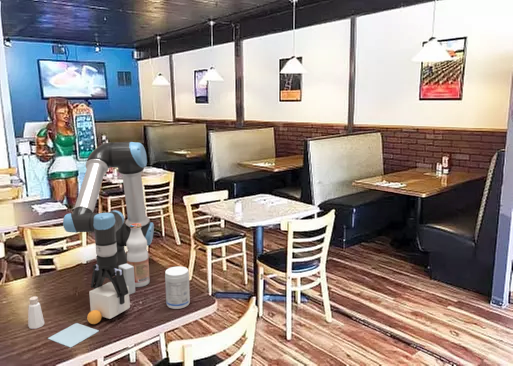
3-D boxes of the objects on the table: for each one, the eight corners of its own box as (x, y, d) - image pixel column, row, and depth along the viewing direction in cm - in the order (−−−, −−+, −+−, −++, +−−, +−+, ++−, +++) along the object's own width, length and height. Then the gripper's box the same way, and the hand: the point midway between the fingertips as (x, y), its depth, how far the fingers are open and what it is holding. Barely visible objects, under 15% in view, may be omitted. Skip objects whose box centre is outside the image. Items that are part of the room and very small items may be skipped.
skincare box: (119, 291, 186) (118, 265, 183) (128, 288, 189) (126, 262, 186) (127, 295, 181) (125, 269, 179) (135, 292, 185) (134, 266, 182)
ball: (96, 309, 162) (87, 307, 158) (106, 312, 160) (97, 310, 156) (91, 323, 160) (82, 321, 156) (101, 326, 158) (91, 324, 154)
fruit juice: (124, 287, 190) (120, 226, 185) (134, 278, 199) (130, 221, 194) (144, 288, 188) (140, 227, 183) (153, 280, 197) (150, 222, 192)
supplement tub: (169, 299, 178) (167, 265, 175) (191, 299, 178) (190, 265, 175) (164, 310, 168) (162, 275, 166) (187, 309, 168) (186, 275, 166)
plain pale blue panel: (76, 323, 159) (76, 322, 159) (99, 331, 153) (99, 330, 153) (47, 338, 148) (47, 338, 148) (70, 347, 143) (70, 347, 143)
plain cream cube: (111, 302, 172) (109, 281, 170) (130, 307, 167) (128, 286, 165) (90, 312, 163) (89, 291, 161) (110, 318, 158) (108, 296, 156)
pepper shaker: (27, 330, 154) (24, 302, 152) (28, 323, 159) (25, 296, 157) (44, 327, 156) (41, 299, 154) (45, 320, 161) (42, 293, 159)
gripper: (77, 252, 163) (82, 306, 167) (121, 261, 152) (125, 319, 156) (93, 246, 169) (97, 298, 173) (136, 255, 159) (139, 310, 163)
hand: (110, 308), depth 165 cm, fingers closed on plain cream cube, 10 cm apart
